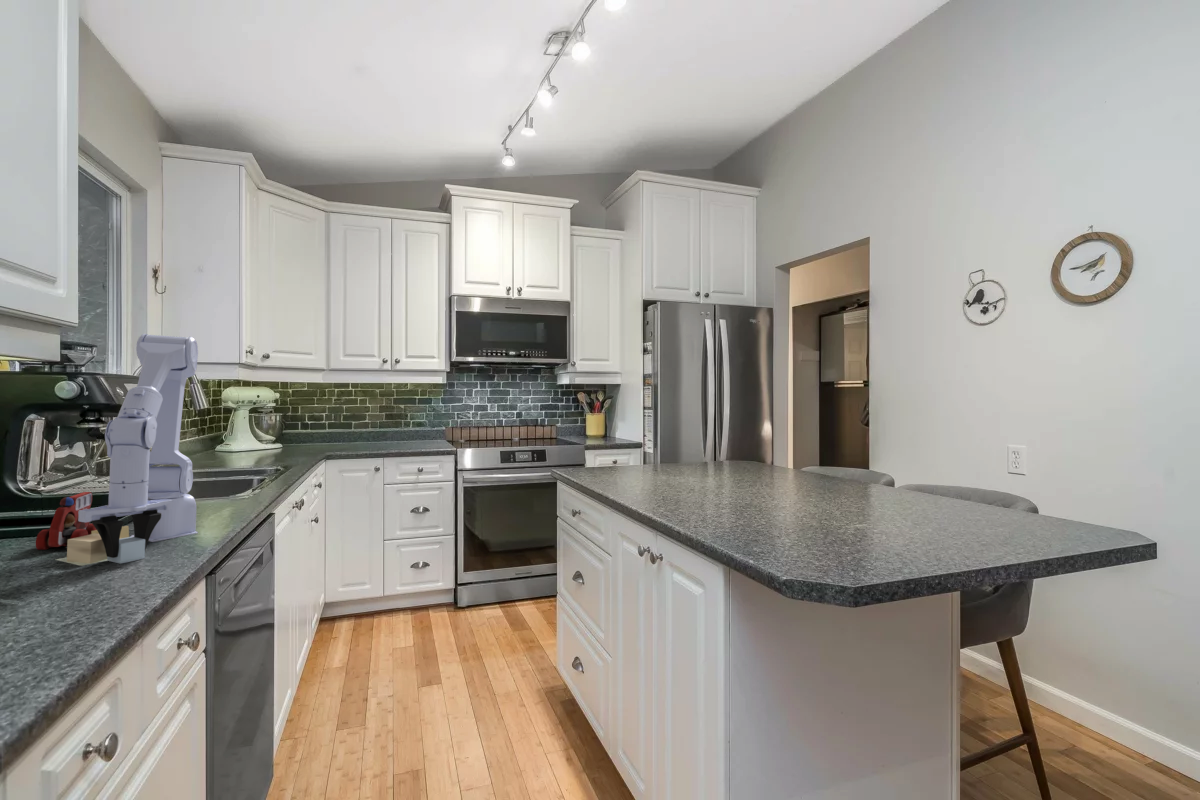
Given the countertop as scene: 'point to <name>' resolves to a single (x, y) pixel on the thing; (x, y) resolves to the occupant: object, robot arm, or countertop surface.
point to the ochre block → (123, 533)
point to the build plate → (76, 562)
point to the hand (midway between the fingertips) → (126, 553)
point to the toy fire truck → (66, 522)
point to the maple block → (86, 549)
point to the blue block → (129, 550)
